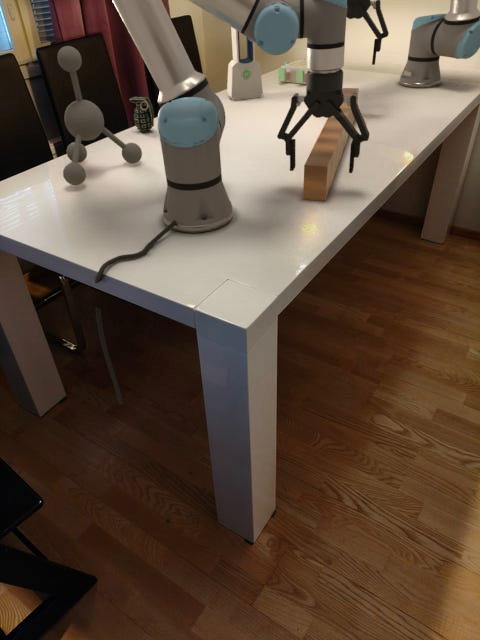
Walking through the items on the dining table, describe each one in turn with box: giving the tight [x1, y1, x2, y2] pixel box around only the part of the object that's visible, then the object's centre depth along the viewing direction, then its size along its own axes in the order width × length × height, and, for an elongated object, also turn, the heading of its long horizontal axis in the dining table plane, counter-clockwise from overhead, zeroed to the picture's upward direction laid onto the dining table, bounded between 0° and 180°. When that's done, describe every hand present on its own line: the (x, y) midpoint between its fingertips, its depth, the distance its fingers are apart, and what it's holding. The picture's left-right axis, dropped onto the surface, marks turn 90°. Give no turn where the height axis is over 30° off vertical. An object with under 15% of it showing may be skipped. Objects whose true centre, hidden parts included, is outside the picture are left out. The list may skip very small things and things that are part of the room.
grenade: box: [128, 96, 155, 133], centre depth 156 cm, size 7×6×10 cm
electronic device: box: [226, 26, 264, 101], centre depth 179 cm, size 12×8×30 cm, turn 105°
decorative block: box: [277, 57, 309, 85], centre depth 206 cm, size 26×6×20 cm
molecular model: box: [57, 45, 143, 186], centre depth 125 cm, size 24×22×30 cm
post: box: [302, 87, 359, 202], centre depth 136 cm, size 70×5×8 cm, turn 164°
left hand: (321, 170), depth 113 cm, fingers open, 13 cm apart
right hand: (350, 63), depth 150 cm, fingers open, 13 cm apart
